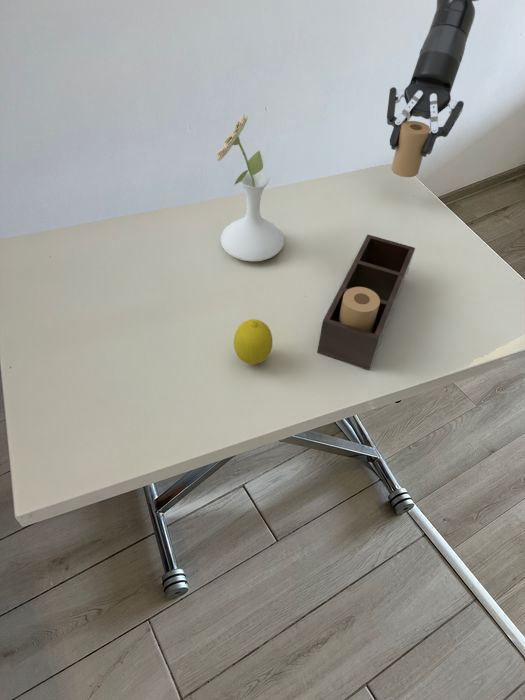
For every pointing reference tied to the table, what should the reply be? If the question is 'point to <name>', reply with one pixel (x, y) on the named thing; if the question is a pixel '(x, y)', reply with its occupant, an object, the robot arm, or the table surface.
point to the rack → (379, 276)
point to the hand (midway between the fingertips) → (408, 151)
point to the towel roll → (410, 148)
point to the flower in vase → (250, 210)
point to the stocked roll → (359, 308)
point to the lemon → (253, 341)
